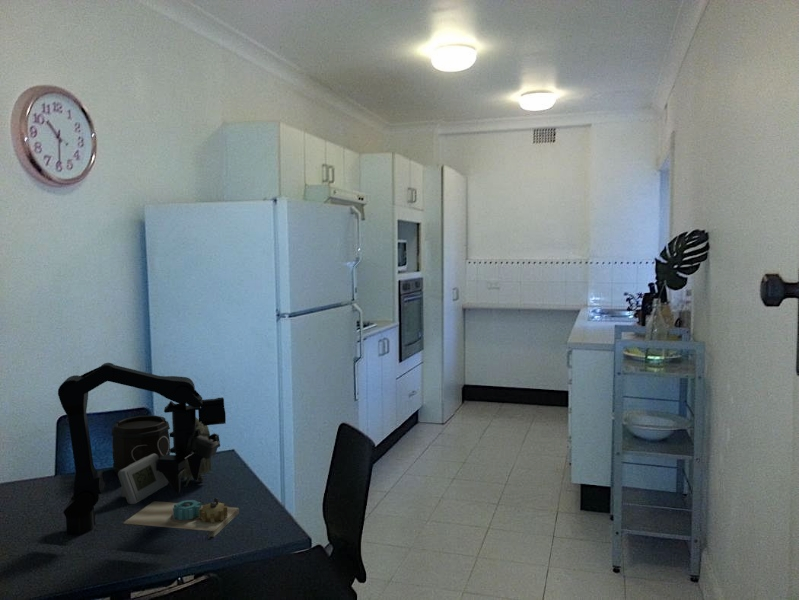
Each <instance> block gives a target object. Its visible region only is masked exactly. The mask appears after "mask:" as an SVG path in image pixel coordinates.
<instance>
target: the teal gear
mask: <svg viewBox="0 0 800 600" xmlns="http://www.w3.org/2000/svg"><path fill="white" fill-rule="evenodd" d="M177 503H178V504H175V505H174V508H173V517H174V518H178V519H179V520H188V519H193V518H195V517H196V516H199V509H200V508H201V505H202V503H201V502H200V501H197V500H195V499H186V500H181V501H179V502H177ZM184 504H190V506H188V507H184Z"/></svg>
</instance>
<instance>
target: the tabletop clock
mask: <svg viewBox="0 0 800 600" xmlns="http://www.w3.org/2000/svg"><path fill="white" fill-rule="evenodd" d="M187 406H190V405H188V404H187ZM196 429H200V431H201V436H204V437H205V436H208V437H209V436H210V435H211V434H210V429H209V425H206V426H203V424H201V422H199V418H198V417H196ZM185 461H186V464H185V466H184V468H186V469H185V470H184V471H183V472H182V473H181V479H185V478H186V481H185V484H184V485H183V487H188V485H189V482H190V480H191V479H192V478H193V476H192V473H191V470H190V466H189V463H188V460H187V458H186V459H185ZM211 471H212V457H211V458H209V459H205V458H204V459H203V463H202V466H201V470H200V474H199V477H198V480H197V481H198V482H199V483H202V482H203V481H204V478H203V476H202V475H206V474H207V473H209V472H211Z"/></svg>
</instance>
